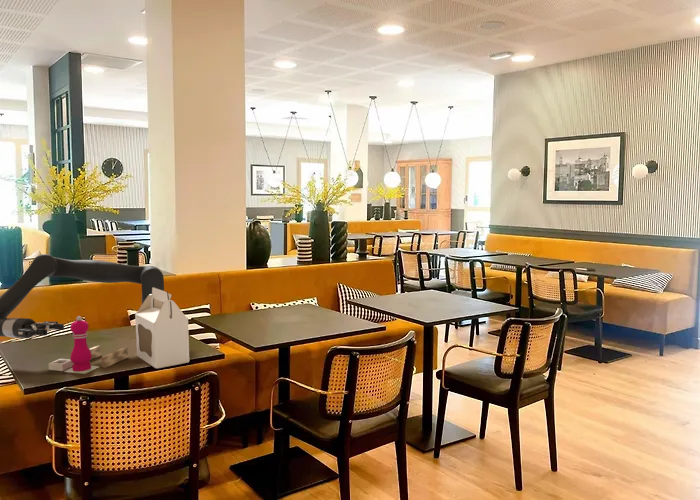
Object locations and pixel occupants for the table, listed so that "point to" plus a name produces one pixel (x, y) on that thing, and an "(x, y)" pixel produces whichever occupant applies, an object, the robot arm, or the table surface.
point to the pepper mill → (80, 346)
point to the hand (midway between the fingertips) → (55, 329)
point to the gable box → (161, 331)
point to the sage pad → (82, 371)
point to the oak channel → (109, 355)
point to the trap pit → (60, 364)
